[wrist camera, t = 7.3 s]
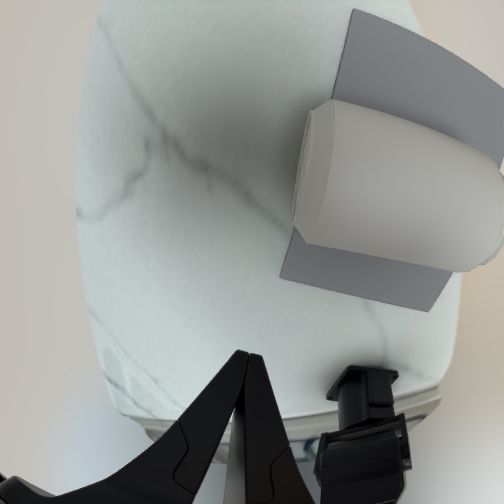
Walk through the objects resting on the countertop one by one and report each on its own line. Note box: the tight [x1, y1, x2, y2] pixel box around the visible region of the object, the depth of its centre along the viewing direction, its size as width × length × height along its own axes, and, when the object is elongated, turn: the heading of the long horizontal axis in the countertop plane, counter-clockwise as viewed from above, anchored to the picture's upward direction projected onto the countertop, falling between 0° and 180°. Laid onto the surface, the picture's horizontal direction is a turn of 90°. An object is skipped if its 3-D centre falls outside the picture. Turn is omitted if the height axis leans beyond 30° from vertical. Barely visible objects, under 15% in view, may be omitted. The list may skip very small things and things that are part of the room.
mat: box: [280, 8, 504, 312], centre depth 17 cm, size 20×14×1 cm
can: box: [291, 99, 504, 273], centre depth 14 cm, size 8×8×12 cm
